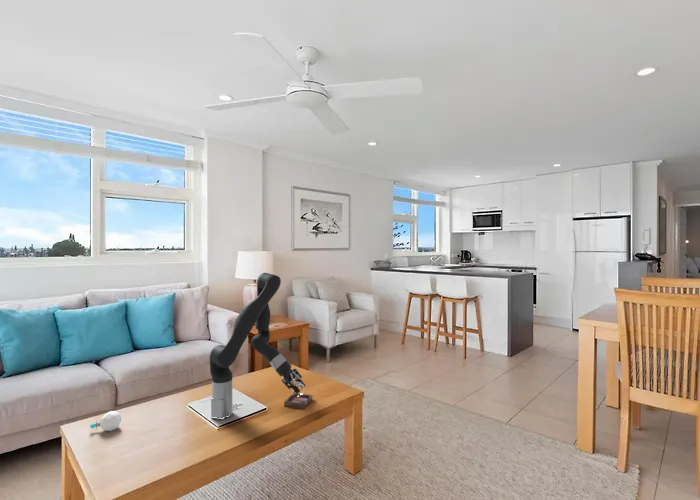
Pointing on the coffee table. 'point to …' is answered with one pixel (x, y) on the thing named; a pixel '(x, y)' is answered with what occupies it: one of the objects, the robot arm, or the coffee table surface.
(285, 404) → the jewellery tray
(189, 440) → the coffee table surface
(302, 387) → the ring
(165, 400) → the coffee table surface
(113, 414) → the perfume bottle
